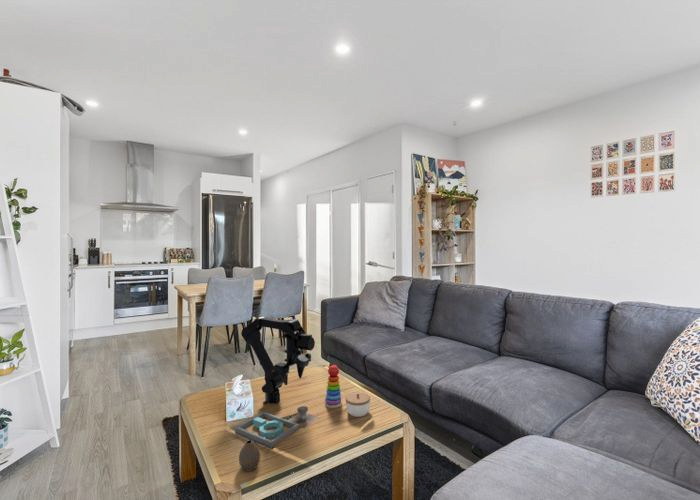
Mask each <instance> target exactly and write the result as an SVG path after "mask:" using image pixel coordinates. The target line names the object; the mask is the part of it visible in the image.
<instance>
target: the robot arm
mask: <svg viewBox="0 0 700 500" xmlns="http://www.w3.org/2000/svg"><path fill="white" fill-rule="evenodd" d="M263 328H269V329H275V330H279V331H281V333H283V335H282V336H281V338H283V339H285V341H286V343H285V344H286V346H285V347H286V348H285V350H284V351H283V352H284V353H285V354H286V355H285V357H286V358H284V362H279V363H275V364H274V363H273V361H272V359H271V358H270V356H269V354H268V351H267V350H266V347H265V346H264V344H263V341H262V340H261V339H262V333H261V330H262V329H263ZM241 337H242V338H243V340H244V341H245V342H246V343H247V344H248V345H250V346H251V348H252V350H253V351H254V352H253V353H254V354H255V356H256V358H257V360H258V362H259V364H260V365H261V367H262V370H263V372H264V382H265V383H264V385H262V386H261V390H262V393H264V395H265V396H264V397H265V398H264V399H265V400H264V401H262V404H263V405H267V404H278V403H280V402H281V393H280V388H281V387H283V385H284V386H288V382H289V378H288V377H289V373H290V367H292V366H294V365H296V368H297V375H298V376H297V377H298V379H302V377H303V375H304V374H303V373H304V371H305V367H307V366H309V363H310V362H311V361H312V354H311V353H310V352H311V351H313V349H314V348H315V345H316V344H315V343H316V341H315V339H314V337H313V334H306V332H305V329H304V327H303V326H302V324H301V323H300V320H299V319H297V318H295V319H294V318H293V319H291V318H289V319H284V320H283V319H277V318H271V317H265V316H259V317H256V318H255V319H253V321H251V322H250V323H249V324H247V326H245V327H243V328H242V330H241ZM302 350H304V351H310V352H307V353H306V354H305V353H302ZM285 362H286V363H285Z"/></svg>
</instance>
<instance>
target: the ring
mask: <svg viewBox="0 0 700 500" xmlns="http://www.w3.org/2000/svg"><path fill="white" fill-rule="evenodd" d="M252 426H253V427H254V428H256V429H258V430H259V432H258V433H259V434H258V435H259V436H262V437H264V438H267V439H269V438H270V439H271V438H276V437H277V436H279V435H280V434H282V433H283V432H284V424H283V423H282V422H279V421H276V420H275V421H274V420H269V421H268V420H267V419H266V418H265V419H264V418H263V417H262V418H259V417H257V418H255V419H253V423H252ZM268 428H269V429H270V428H276V429H274V430H273V429H272V430H267V429H268Z"/></svg>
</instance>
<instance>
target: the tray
mask: <svg viewBox="0 0 700 500" xmlns="http://www.w3.org/2000/svg"><path fill="white" fill-rule="evenodd" d="M257 417H259V418H262V419H263V418H265V419H269V420H270V421H275V420H276V421H279V422H282V423H283V425H284V426H288V427H289V428H288V429H287V430H284V431H283V433H281V434H280V435H278V436H277V437H274V438H273V439H269V438H265V437H262V436H260V435H259V434H256V433H254V432H253V431H249V430H247V429H246V428H247V427H248V426H250V425H253V419H255V418H257ZM299 427H300V426H299V424H297V423H294V422H291V421H289V419H286V418H283V417H279V416H278V415H274V414H271V413H269V412H266V411H262V412H261V413H258V414H257V415H254V416H253V417H252V418H250V419H248V420H246V421H245V422H243V423H241V424H239V425H237V426H236V427H234V428H235V435H236V436H239V437H242V438H244V439H247V440H253V442H254V443H255V444H258V445H260V446H263V447H265V448H267V449H269V450H273V449H274V448H275V445H277V444H278V443H279V442H281V441H282V440H284V439H286V438H287V437H288V436H289V435H290V434H292V433H294V432H295V431H296V430H298V429H300V428H299Z"/></svg>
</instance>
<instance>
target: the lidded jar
mask: <svg viewBox="0 0 700 500" xmlns="http://www.w3.org/2000/svg"><path fill="white" fill-rule="evenodd" d="M345 405H346V410H347V412H348V413H349V414H350V415H351V416H352V417H355V418H361V417H364V416H366V415H367V414H368V412H369V410H370V406H371V396H370V395H369V394H368V393H365V392H361V391H356V392H351V393H348V394H347V395H346V396H345Z"/></svg>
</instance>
